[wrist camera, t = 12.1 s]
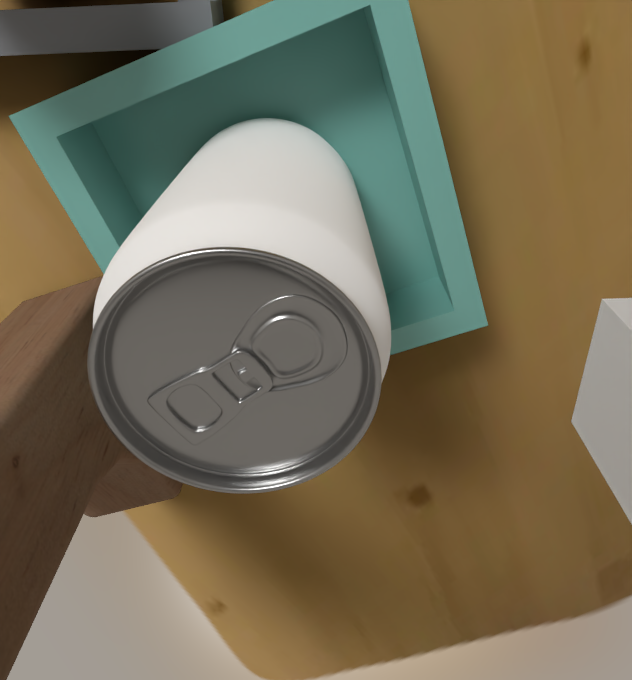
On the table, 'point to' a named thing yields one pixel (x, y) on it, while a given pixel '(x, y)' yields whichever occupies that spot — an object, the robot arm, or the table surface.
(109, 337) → the can
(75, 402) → the wooden block
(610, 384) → the robot arm
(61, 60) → the table surface
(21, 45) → the grey flat open frame
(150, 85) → the tray
